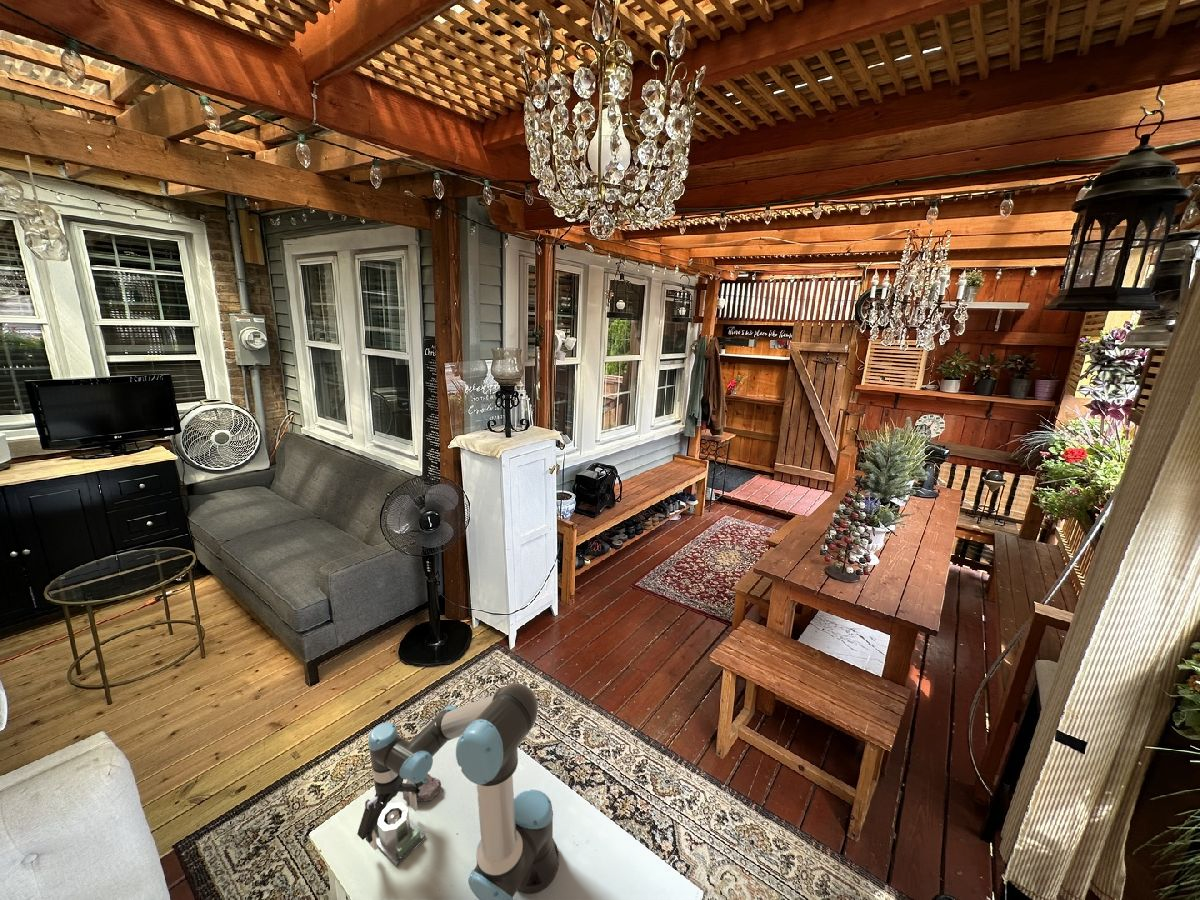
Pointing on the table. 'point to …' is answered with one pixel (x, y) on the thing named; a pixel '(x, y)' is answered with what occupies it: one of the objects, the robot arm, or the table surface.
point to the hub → (394, 825)
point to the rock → (425, 789)
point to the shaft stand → (405, 845)
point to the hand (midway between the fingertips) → (394, 826)
